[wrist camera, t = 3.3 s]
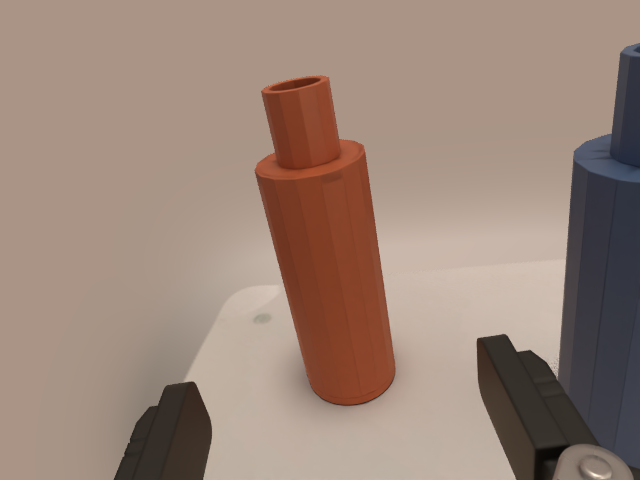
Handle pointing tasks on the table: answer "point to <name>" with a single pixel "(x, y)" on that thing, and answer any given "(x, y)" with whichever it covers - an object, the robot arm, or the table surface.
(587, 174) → the blue bottle
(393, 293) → the table surface
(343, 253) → the terracotta bottle
